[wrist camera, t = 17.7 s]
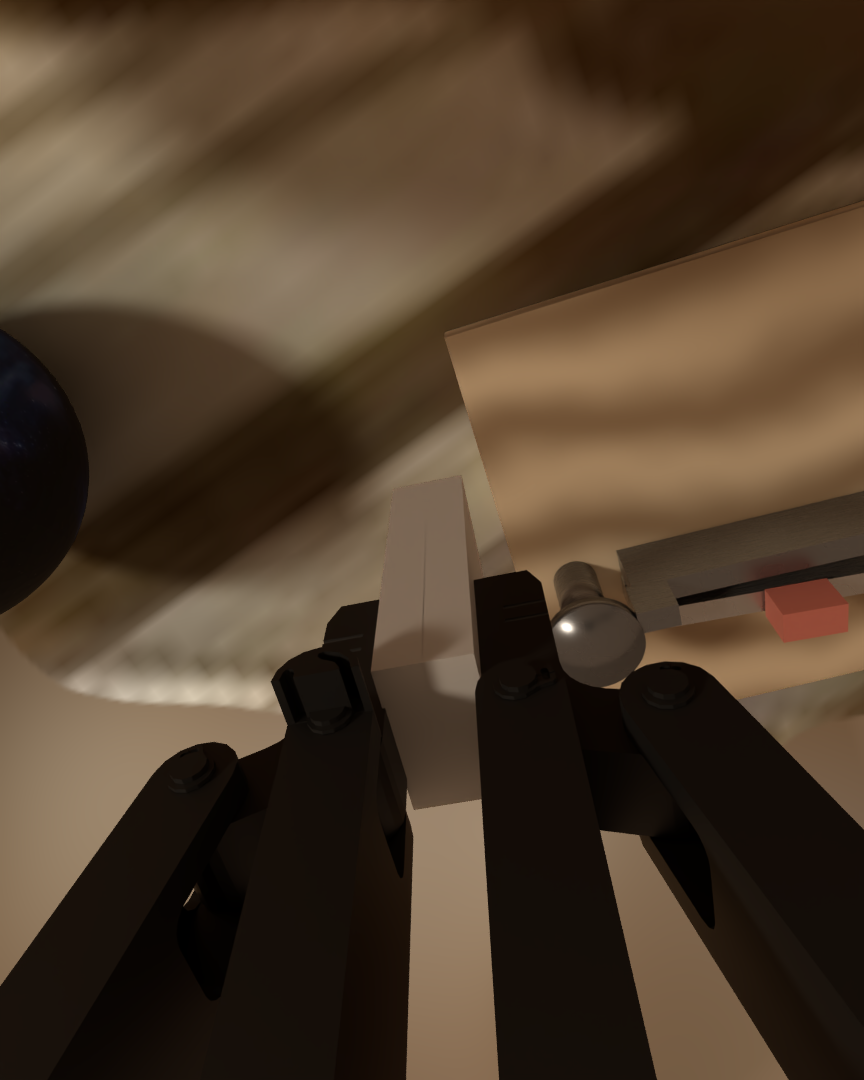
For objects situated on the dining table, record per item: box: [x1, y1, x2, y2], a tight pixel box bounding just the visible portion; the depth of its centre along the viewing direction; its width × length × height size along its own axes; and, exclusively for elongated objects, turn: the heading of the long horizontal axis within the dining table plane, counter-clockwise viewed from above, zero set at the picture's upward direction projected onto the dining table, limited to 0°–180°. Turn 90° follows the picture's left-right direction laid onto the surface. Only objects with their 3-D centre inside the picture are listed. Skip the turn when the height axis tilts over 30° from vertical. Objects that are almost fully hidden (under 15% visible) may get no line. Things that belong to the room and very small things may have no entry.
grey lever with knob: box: [550, 491, 864, 687], centre depth 41 cm, size 20×5×6 cm, turn 106°
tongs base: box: [553, 555, 864, 628], centre depth 42 cm, size 19×3×5 cm, turn 102°
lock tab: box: [765, 578, 849, 643], centre depth 39 cm, size 3×2×2 cm, turn 102°
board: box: [445, 201, 864, 700], centre depth 43 cm, size 26×22×1 cm
